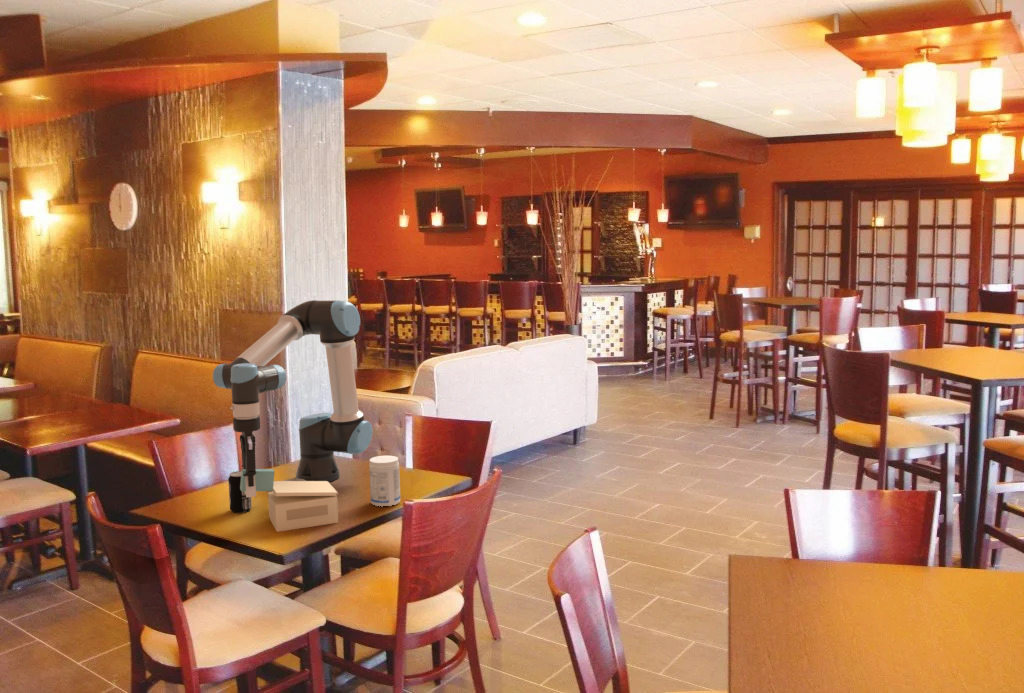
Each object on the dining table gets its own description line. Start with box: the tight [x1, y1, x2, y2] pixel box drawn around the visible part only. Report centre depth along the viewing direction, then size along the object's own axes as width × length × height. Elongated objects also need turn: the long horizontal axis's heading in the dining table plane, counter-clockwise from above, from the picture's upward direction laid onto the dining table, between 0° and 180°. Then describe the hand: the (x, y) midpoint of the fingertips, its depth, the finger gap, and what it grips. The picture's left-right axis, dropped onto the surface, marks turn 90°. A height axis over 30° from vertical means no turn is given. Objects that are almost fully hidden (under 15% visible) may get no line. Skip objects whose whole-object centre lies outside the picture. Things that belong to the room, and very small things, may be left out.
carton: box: [267, 491, 339, 532], centre depth 256 cm, size 14×18×8 cm
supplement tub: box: [368, 455, 401, 508], centre depth 271 cm, size 10×10×15 cm
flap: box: [240, 468, 339, 497], centre depth 253 cm, size 14×27×6 cm, turn 115°
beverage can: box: [227, 470, 253, 514], centre depth 266 cm, size 7×7×12 cm
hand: (250, 494), depth 249 cm, fingers closed on flap, 3 cm apart
